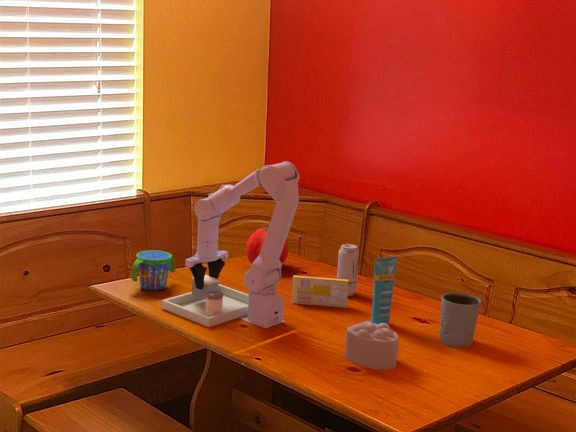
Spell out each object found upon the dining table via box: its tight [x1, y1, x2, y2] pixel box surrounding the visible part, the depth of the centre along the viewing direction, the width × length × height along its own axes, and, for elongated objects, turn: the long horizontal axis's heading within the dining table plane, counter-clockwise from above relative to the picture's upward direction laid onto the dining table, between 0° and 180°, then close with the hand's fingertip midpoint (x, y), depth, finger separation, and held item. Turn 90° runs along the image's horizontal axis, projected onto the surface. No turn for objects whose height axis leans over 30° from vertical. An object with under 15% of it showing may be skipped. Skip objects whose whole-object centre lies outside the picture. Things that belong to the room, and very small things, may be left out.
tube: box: [370, 255, 399, 326], centre depth 228 cm, size 7×5×19 cm, turn 123°
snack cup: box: [130, 249, 177, 292], centre depth 248 cm, size 16×10×10 cm
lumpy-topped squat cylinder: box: [344, 320, 400, 370], centre depth 205 cm, size 10×13×9 cm
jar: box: [205, 291, 223, 317], centre depth 225 cm, size 5×5×7 cm
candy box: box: [291, 274, 349, 309], centre depth 242 cm, size 16×2×8 cm, turn 84°
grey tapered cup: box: [439, 292, 482, 349], centre depth 219 cm, size 10×10×12 cm
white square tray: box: [161, 284, 249, 328], centre depth 232 cm, size 19×22×3 cm
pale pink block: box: [191, 274, 220, 300], centre depth 235 cm, size 6×5×5 cm
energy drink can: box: [336, 243, 360, 297], centre depth 252 cm, size 6×6×15 cm
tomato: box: [245, 224, 289, 265], centre depth 273 cm, size 16×14×14 cm
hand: (206, 286), depth 235 cm, fingers closed on pale pink block, 4 cm apart
